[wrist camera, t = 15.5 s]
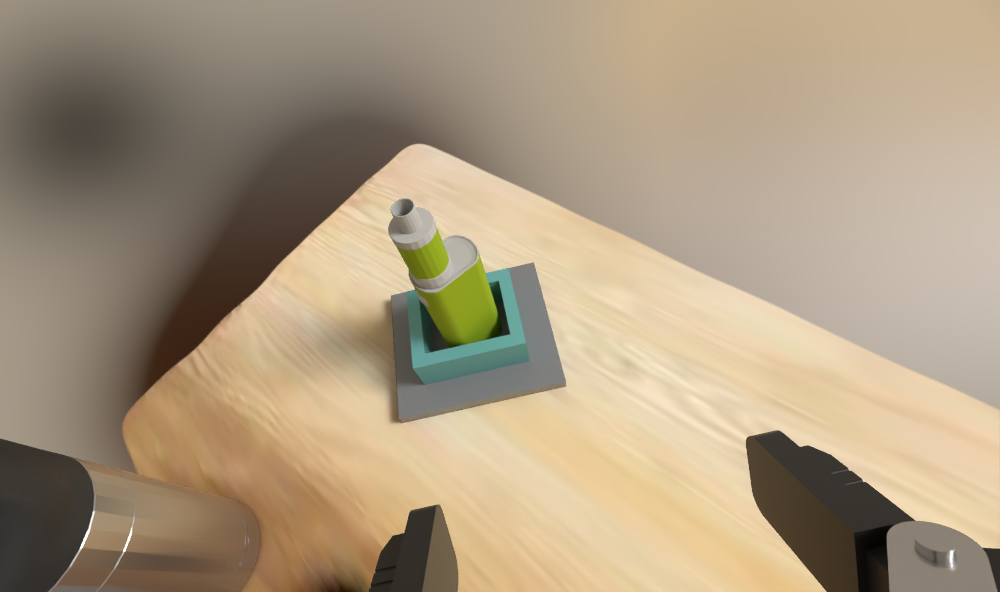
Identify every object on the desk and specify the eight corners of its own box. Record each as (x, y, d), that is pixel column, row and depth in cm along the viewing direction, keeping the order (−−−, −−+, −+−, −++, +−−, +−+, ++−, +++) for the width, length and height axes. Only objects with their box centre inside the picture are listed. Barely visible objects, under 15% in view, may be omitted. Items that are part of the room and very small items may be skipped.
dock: (402, 422, 46) (384, 405, 42) (394, 301, 54) (377, 275, 49) (566, 386, 46) (564, 364, 41) (534, 268, 53) (530, 239, 49)
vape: (440, 342, 49) (362, 209, 32) (485, 306, 50) (434, 161, 33) (462, 366, 47) (392, 240, 30) (508, 328, 48) (466, 187, 32)
